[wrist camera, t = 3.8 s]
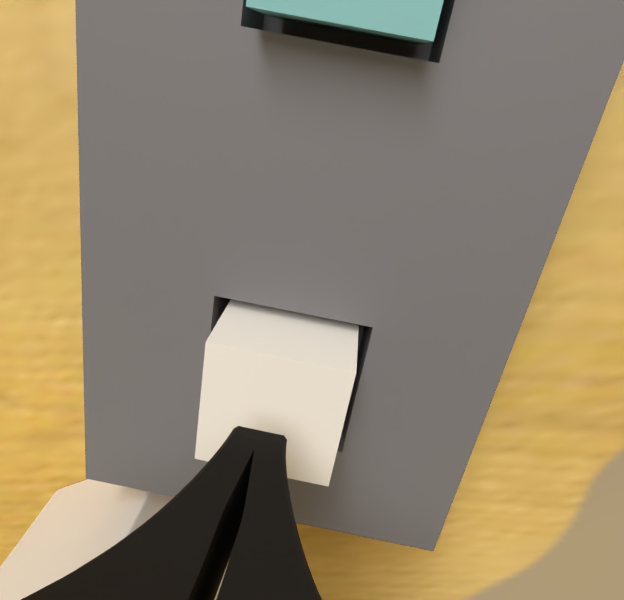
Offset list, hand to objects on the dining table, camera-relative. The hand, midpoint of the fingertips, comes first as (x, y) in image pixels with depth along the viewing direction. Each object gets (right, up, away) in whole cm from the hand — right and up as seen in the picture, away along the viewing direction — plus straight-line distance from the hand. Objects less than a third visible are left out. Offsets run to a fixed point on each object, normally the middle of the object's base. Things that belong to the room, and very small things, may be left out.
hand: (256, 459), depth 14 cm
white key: (+1, +2, +5) cm, 5 cm away
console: (+2, +9, +5) cm, 10 cm away
